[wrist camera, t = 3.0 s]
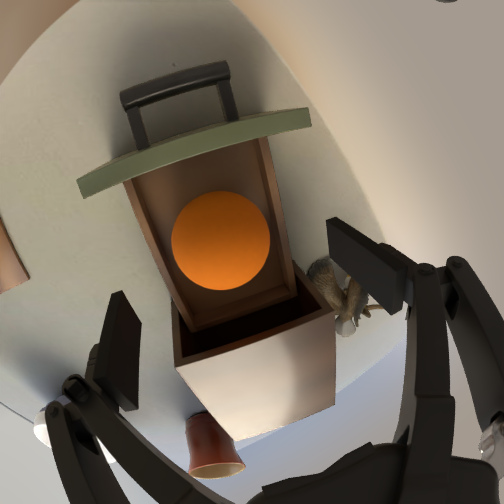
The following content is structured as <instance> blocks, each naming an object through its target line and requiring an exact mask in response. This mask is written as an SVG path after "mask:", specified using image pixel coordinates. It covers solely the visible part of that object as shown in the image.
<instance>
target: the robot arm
mask: <svg viewBox="0 0 504 504" xmlns="http://www.w3.org/2000/svg"><path fill="white" fill-rule="evenodd" d="M326 226H327V235H328V245H329V255H330V258H331V259H332V260H333V261H334V262H335V263H336V264H338V265H339V266H340V267H341V268H342V269H343V270H344V271H345V272H346V273H347V274H348V275H349V276H350V277H352V278H353V279H354V280H355V281H356V282H357V283H358V284H359V285H360V286H361V287H362V288H363V289H364V290H365V291H366V292H367V293H368V294H369V295H371V296H372V297H373V298H374V299H375V300H376V301H377V302H378V303H379V304H380V305H381V306H382V307H383V308H384V309H385V310H386V311H387V312H388V313H389V314H390V315H393V314H395V313H397V312H398V311H400V310H402V307H403V301H405V302H406V303H407V304H408V308H407V313H406V318H405V320H407V348H406V364H405V376H404V386H403V394H402V402H401V409H400V415H399V422H398V426H397V429H396V432H395V435H394V439H393V443H382V444H377V445H372V443H371V442H368V443H367V444H365V445H363V446H361V447H359V448H357V449H355V450H354V451H351V452H350V453H347V454H345V455H344V456H343V457H342V458H340V459H339V460H338V461H336V462H335V463H334V464H333V465H331V466H330V467H329V468H327V469H326V470H324V471H323V472H321V473H318V474H313V475H307V476H300V477H293V478H288V479H285V480H282V481H279V482H275V483H272V484H269V485H266V486H262V490H263V491H262V492H260V493H259V494H257V495H256V496H254V497H253V498H252V499H251V500H249V501H248V502H247V504H500V501H499V490H498V489H499V480H500V479H501V478H502V477H503V476H504V320H503V318H502V316H501V315H500V313H499V311H498V309H497V307H496V306H495V304H494V302H493V301H492V299H491V297H490V296H489V294H488V292H487V291H486V289H485V287H484V286H483V284H482V283H481V281H480V280H479V278H478V277H477V275H476V274H475V272H474V271H473V269H472V268H471V266H470V265H469V263H468V262H467V261H466V260H465V259H464V258H462V257H459V256H451V257H449V258H448V259H447V262H446V266H444V267H439V268H435V267H434V266H433V265H431V264H428V263H420V264H417V263H416V262H414V261H413V260H411V259H410V258H408V257H407V256H406V255H404V254H402V253H401V252H399V251H398V250H396V249H395V248H394V247H392V246H391V245H388V244H385V243H380V244H377V243H376V242H374V241H373V240H371V239H370V238H368V237H367V236H365V235H364V234H362V233H361V232H359V231H358V230H356V229H355V228H353V227H351V226H350V225H348V224H347V223H345V222H344V221H342V220H340V219H339V218H337V217H334V218H331V219H328V220H326ZM446 321H447V323H448V326H449V329H450V331H451V334H452V336H453V339H454V342H455V344H456V347H457V350H458V353H459V355H460V359H461V361H462V365H463V368H464V371H465V374H466V377H467V381H468V384H469V388H470V391H471V395H472V399H473V403H474V407H475V412H476V415H477V419H478V422H479V425H480V428H481V430H482V432H483V434H482V437H481V442H480V444H479V450H480V452H482V458H481V460H477V459H470V458H463V457H457V456H452V455H451V454H452V445H453V436H454V422H455V399H454V397H453V396H451V395H450V366H449V348H448V336H447V326H446ZM141 326H142V323H141V321H140V320H139V318H138V317H137V315H136V313H135V312H134V310H133V308H132V307H131V305H130V303H129V301H128V300H127V298H126V296H125V294H124V293H123V291H122V290H121V291H118V292H115V293H112V294H111V298H110V301H109V305H108V309H107V312H106V316H105V320H104V324H103V329H102V333H101V337H100V342H99V343H98V344H95V345H94V346H93V348H92V349H91V351H90V354H89V358H88V360H89V361H88V363H87V368H86V373H85V378H84V379H83V378H82V377H81V376H80V375H79V374H73V375H71V376H69V377H68V378H67V379H66V380H65V381H64V383H63V385H62V393H63V395H65V396H66V397H67V398H68V399H69V400H70V401H71V402H70V403H68V404H66V405H64V406H63V405H62V404H61V403H60V402H58V401H53V402H51V403H50V404H49V405H48V406H47V407H46V410H45V421H46V426H47V431H48V436H49V440H50V444H51V448H52V452H53V455H54V459H55V462H56V465H57V469H58V472H59V474H60V478H61V481H62V484H63V486H64V489H65V491H66V494H67V497H68V499H69V502H70V504H130V502H129V501H128V499H127V497H126V496H125V494H124V492H123V490H122V489H121V487H120V485H119V483H118V481H117V479H116V477H115V476H114V474H113V472H112V470H111V468H110V466H109V464H108V462H107V460H106V457H105V455H104V453H103V451H102V449H101V446H100V444H99V442H98V440H97V438H98V439H99V440H100V442H101V443H102V444H103V445H104V447H105V448H106V449H107V450H108V451H109V453H110V454H111V455H112V456H113V457H114V459H115V460H116V461H117V462H118V463H119V464H120V465H121V466H122V468H123V469H124V470H125V471H126V472H127V473H128V474H129V475H130V476H131V477H132V478H133V479H134V480H135V481H136V482H137V483H138V484H139V485H140V486H141V487H142V488H143V489H144V490H145V491H146V492H147V493H148V494H149V495H150V496H151V497H152V498H153V499H154V500H155V501H157V502H158V503H159V504H235V503H233V502H231V501H229V500H227V499H225V498H223V497H222V496H220V495H218V494H217V493H215V492H214V491H212V490H210V489H209V488H208V487H206V486H205V485H203V484H202V483H200V482H199V481H197V480H196V479H195V478H193V477H192V476H191V475H189V474H188V473H186V472H185V471H184V470H183V469H181V468H180V467H179V466H177V465H176V464H175V463H174V462H172V461H171V460H170V459H169V458H167V457H166V456H165V455H164V454H163V453H161V452H160V451H159V450H158V449H157V448H156V447H155V446H153V445H152V444H151V443H150V442H149V441H148V440H147V439H146V438H145V437H144V436H143V435H141V434H140V433H139V432H138V431H137V430H136V429H135V428H134V427H133V426H132V425H131V424H130V423H129V422H128V421H127V420H126V419H125V418H124V417H123V416H122V415H121V414H120V413H119V406H120V407H121V408H122V409H123V410H124V411H125V412H126V411H132V410H137V409H139V407H138V391H139V357H140V339H141ZM96 436H97V437H96Z"/></svg>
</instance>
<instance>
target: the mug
mask: <svg viewBox="0 0 504 504" xmlns="http://www.w3.org/2000/svg"><path fill="white" fill-rule="evenodd" d="M185 434H186V438H187V443H188V448H189V452H190V465H189V471H188V474H189V475H191V476H192V477H194V478H199V479H217V478H223V477H228V476H232V475H235V474H237V473H239V472H241V471H243V470H244V469H245V467H246V466H245V464H244V463H243V461H242V460H241V459H240V457H239V455H238V454H237V452H236V449H235V446H234V442H233V439H232V438H231V437H230V435H229V434H228V433H227V432H226V431H225V430H224V429H223V428H222V427H221V425H220V424H219V423H218V422H217V421H216V420H215V418H214V417H213V416H212V415H211V414H210V413H209V412H206V413H200V414H196V415H194V416H192V417H191V418H189V419H188V420H187V422H186V431H185Z"/></svg>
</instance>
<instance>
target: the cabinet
mask: <svg viewBox="0 0 504 504" xmlns="http://www.w3.org/2000/svg"><path fill="white" fill-rule="evenodd" d="M292 264H293V270H294V276H295V281H296V287H297V293H298V296H296V297H293V298H291V299H288V300H285V301H283V302H280V303H277V304H275V305H272V306H269V307H267V308H264V309H261V310H258V311H256V312H253V313H250V314H247V315H244V316H241V317H238V318H236V319H233V320H230V321H227V322H224V323H221V324H218V325H215V326H212V327H209V328H206V329H203V330H200V331H196V332H193V333H190V331H189V329H188V327H187V325H186V323H185V321H184V320H183V318H182V316H181V314H180V312H179V310H178V308H177V306H176V304H175V302H174V301H172V302H171V314H172V336H173V353H174V366H175V369H176V370H177V372H178V373H179V374H180V376H181V377H182V378H183V380H184V381H185V382H186V384H187V385H188V386H189V388H190V389H191V390H192V391H193V393H194V394H195V395H196V397H197V398H198V399H199V400H200V402H201V403H202V404H203V405H204V406H205V408H206V409H207V410H208V411H209V413H210V414H211V415H212V416H213V417H214V418H215V420H216V421H217V422H218V423H219V424H220V425H221V427H222V428H223V429H224V430H225V431H226V432H227V433H228V434H229V435H230V437H231V438H232V439H233V440H234V441H239V440H242V439H246V438H249V437H253V436H256V435H259V434H262V433H265V432H268V431H271V430H274V429H277V428H280V427H282V426H285V425H288V424H290V423H293V422H296V421H298V420H301V419H303V418H306V417H308V416H310V415H313V414H315V413H317V412H320V411H322V410H324V409H326V408H329V407H331V406H333V405H335V387H336V337H335V310H334V309H333V308H332V306H331V305H330V304H329V303H328V301H327V300H326V299H325V298H324V297H323V295H322V294H321V293H320V292H319V290H318V289H317V288H316V287H315V286H314V284H313V283H312V282H311V281H310V279H309V278H308V277H307V276H306V275H305V273H304V272H303V271H302V270H301V269H300V267H299V266H298V265H297V264H296V262H295V261H294V260H292Z"/></svg>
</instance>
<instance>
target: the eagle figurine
mask: <svg viewBox="0 0 504 504" xmlns="http://www.w3.org/2000/svg"><path fill="white" fill-rule="evenodd" d="M307 277H308V278H309V279H310V281H311V282H312V283H313V284H314V286H315V287H316V288H317V289H318V290H319V292H320V293H321V294H322V295H323V297H324V298H325V299H326V300H327V301H328V303H329V304H330V305H331V306H332V308H333V309H334V310H335V315H339V316H338V317H337V318H336V319H335V330H336V331H337V333H338V334H339V335H341V336H342V337H349V336H351V335H353V334H354V333H355V331H356V328H355V325H356V327H358V319H361V318H360V314H361V313H362V314H363V315H365V316H366V317H368V318H370V317H371V315H370V312H369V311H368V310H372V309H384V308H383V307H382V306H381V305H369V306H368V305H367V304H368V300H369V299H368V296H369V295H368V293H367V292H366V291H365V290H364V289H363V288H362V287H361V286H360V285H359V284H358V283H357V282H356V281H355V280H354V279H353V278H352V277H350V276H349V275H348V276H347V278H346V279H345V288H344V291H343V290H342V289H341V288H340V287H339V285H338V283H337V281H336V279H335V277H334V272H333V268H332V264H331V262H330V260H328V261H325V260H322V261H319V260H318V261H316V263H313V265H312V269H310V270H309V276H307ZM352 316H353V317H354V321H355V325H354V323H353V321H352Z"/></svg>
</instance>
